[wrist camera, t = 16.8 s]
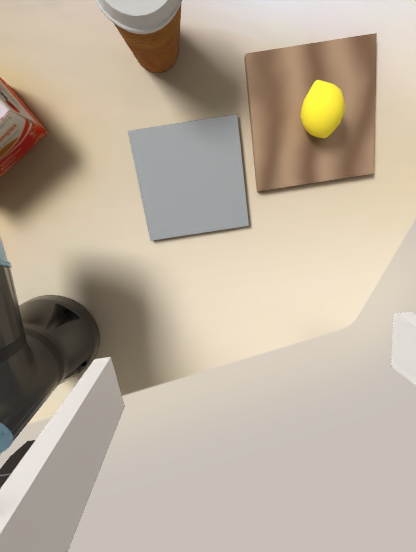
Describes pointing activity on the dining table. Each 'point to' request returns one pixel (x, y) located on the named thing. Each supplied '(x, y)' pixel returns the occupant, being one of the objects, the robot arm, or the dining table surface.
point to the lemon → (322, 109)
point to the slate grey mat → (190, 176)
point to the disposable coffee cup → (147, 29)
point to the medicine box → (16, 128)
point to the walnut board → (288, 103)
